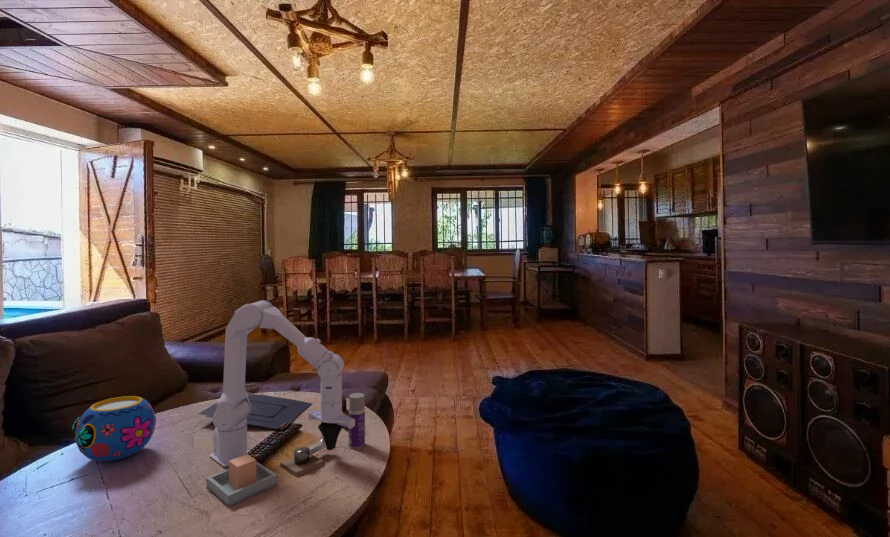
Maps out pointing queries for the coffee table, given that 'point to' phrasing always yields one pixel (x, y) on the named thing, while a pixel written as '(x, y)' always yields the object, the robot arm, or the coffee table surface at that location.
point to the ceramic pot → (114, 428)
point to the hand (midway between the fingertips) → (331, 448)
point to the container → (357, 420)
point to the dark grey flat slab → (268, 410)
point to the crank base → (301, 465)
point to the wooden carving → (344, 408)
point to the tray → (231, 496)
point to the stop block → (242, 471)
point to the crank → (308, 451)
